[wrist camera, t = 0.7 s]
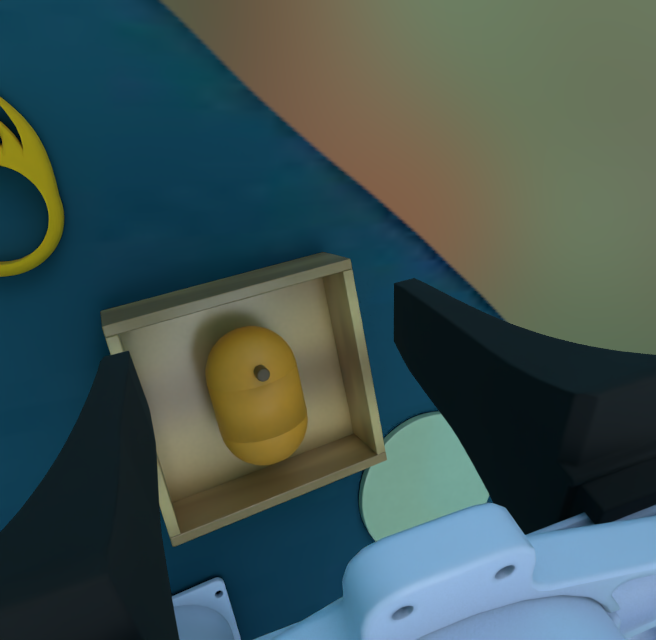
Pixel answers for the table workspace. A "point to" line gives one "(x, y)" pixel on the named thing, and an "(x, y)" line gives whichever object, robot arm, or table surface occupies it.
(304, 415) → the orange rounded piece
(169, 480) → the wooden tray
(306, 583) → the table surface
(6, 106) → the yellow triple ring
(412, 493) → the saucer
